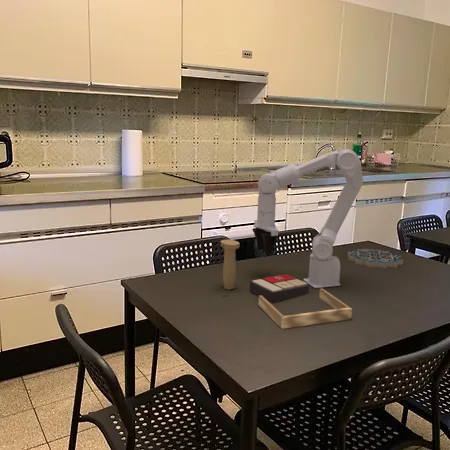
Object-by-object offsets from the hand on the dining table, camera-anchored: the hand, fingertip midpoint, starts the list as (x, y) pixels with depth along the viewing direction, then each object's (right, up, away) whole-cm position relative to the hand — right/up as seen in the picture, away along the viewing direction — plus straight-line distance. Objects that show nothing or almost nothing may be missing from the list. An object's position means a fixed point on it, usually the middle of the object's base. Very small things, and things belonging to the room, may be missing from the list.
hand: (264, 251), depth 151 cm
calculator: (+4, -13, -9) cm, 16 cm away
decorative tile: (+45, -5, +26) cm, 52 cm away
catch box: (+9, -15, -23) cm, 29 cm away
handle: (-12, -11, -7) cm, 18 cm away
